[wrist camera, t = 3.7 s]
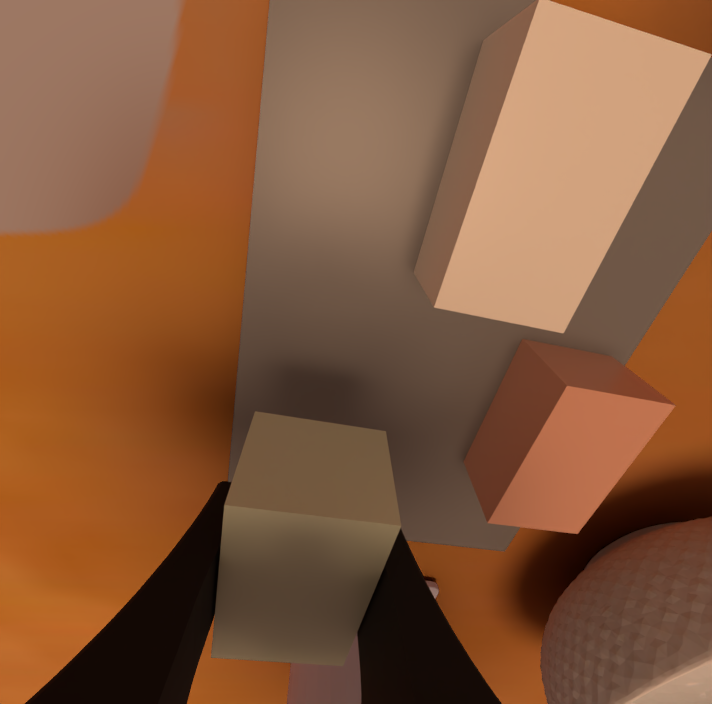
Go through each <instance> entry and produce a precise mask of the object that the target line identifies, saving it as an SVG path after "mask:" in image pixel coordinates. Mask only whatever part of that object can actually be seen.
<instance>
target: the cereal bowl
mask: <svg viewBox="0 0 712 704" xmlns="http://www.w3.org/2000/svg"><path fill="white" fill-rule="evenodd" d="M540 661H541V665H540V667H541V671H542V681H543V684H544V688H545V695H546V697H547V703H548V704H712V517H707V518H704V519H700V518H697V519H695V520H690V521H687V522H673V523H665V524H659V525H655V526H650V527H646V528H643V529H640V530H637V531H634V532H632V533H630V534H627V535H625V536H623V537H621V538H619V539H617V540H616V541H614V542H612V543H611V544H609V545H608V546H606V547H605V548H603V549H602V550H600V551H599V552H598V553H597V554H596V555H595V556H594V557H593V558H592V559H591V560H590V561H589V562H588V564H587V565H586V567H585V569H584V571H583V572H581V573H580V574H579V575H578V576H577V578H576V579H575V580H574V581H572V582H571V583H570V585H569V586H568V587H567V588H566V589H565V590H564V592H563V594H562V595H561V596H560V597H559V598H558V601H557V603H556V604H555V605H554V607H553V610H552V611H551V613H550V614H549V619H548V622H547V624H546V626H545V632H544V634H543V639H542V647H541V660H540Z"/></svg>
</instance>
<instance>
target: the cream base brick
mask: <svg viewBox="0 0 712 704" xmlns="http://www.w3.org/2000/svg"><path fill="white" fill-rule="evenodd" d="M711 55H712V54H709V53H706V52H703V51H700V50H697V49H694V48H691V47H688V46H685V45H682V44H679V43H676V42H673V41H670V40H667V39H664V38H661V37H658V36H655V35H652V34H649V33H646V32H643V31H640V30H637V29H634V28H631V27H628V26H625V25H622V24H618V23H615V22H612V21H609V20H606V19H603V18H600V17H597V16H594V15H591V14H588V13H585V12H582V11H579V10H576V9H573V8H570V7H567V6H564V5H561V4H558V3H555V2H552V1H549V0H536V1H534V2H533V3H532V4H530V5H529V6H528V7H527V8H525V9H524V10H523V11H521V12H520V13H519V14H517V15H516V16H515V17H513V18H512V19H511V20H509V21H508V22H507V23H505V24H504V25H503V26H501V27H500V28H499V29H497V30H496V31H495V32H493V33H492V34H491V35H489V36H488V37H487V38H485V39H484V40H483V43H482V46H481V49H480V53H479V56H478V59H477V63H476V66H475V69H474V73H473V76H472V79H471V83H470V86H469V89H468V93H467V96H466V99H465V103H464V106H463V109H462V113H461V116H460V119H459V123H458V126H457V129H456V133H455V136H454V139H453V143H452V146H451V149H450V153H449V156H448V159H447V163H446V166H445V169H444V173H443V176H442V179H441V183H440V186H439V189H438V193H437V196H436V199H435V203H434V206H433V209H432V213H431V216H430V219H429V223H428V226H427V229H426V233H425V236H424V239H423V243H422V246H421V249H420V253H419V256H418V259H417V263H416V266H415V269H414V274H415V276H416V278H417V279H418V281H419V283H420V284H421V286H422V288H423V290H424V291H425V293H426V295H427V296H428V298H429V300H430V301H431V303H432V305H433V307H434V308H439V309H444V310H449V311H454V312H459V313H464V314H469V315H474V316H479V317H484V318H489V319H494V320H499V321H504V322H509V323H514V324H519V325H524V326H529V327H534V328H539V329H544V330H549V331H554V332H559V333H564V332H565V330H566V328H567V326H568V324H569V322H570V320H571V318H572V316H573V315H574V313H575V311H576V309H577V307H578V305H579V303H580V301H581V300H582V298H583V296H584V294H585V292H586V290H587V288H588V286H589V285H590V283H591V281H592V279H593V277H594V275H595V273H596V271H597V270H598V268H599V266H600V264H601V262H602V260H603V258H604V256H605V255H606V253H607V251H608V249H609V247H610V245H611V243H612V241H613V239H614V238H615V236H616V234H617V232H618V230H619V228H620V226H621V224H622V223H623V221H624V219H625V217H626V215H627V213H628V211H629V209H630V208H631V206H632V204H633V202H634V200H635V198H636V196H637V194H638V193H639V191H640V189H641V187H642V185H643V183H644V181H645V179H646V177H647V176H648V174H649V172H650V170H651V168H652V166H653V164H654V162H655V161H656V159H657V157H658V155H659V153H660V151H661V149H662V147H663V146H664V144H665V142H666V140H667V138H668V136H669V134H670V132H671V131H672V129H673V127H674V125H675V123H676V121H677V119H678V117H679V116H680V114H681V112H682V110H683V108H684V106H685V104H686V102H687V100H688V99H689V97H690V95H691V93H692V91H693V89H694V87H695V85H696V84H697V82H698V80H699V78H700V76H701V74H702V72H703V70H704V69H705V67H706V65H707V63H708V61H709V59H710V57H711Z"/></svg>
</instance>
